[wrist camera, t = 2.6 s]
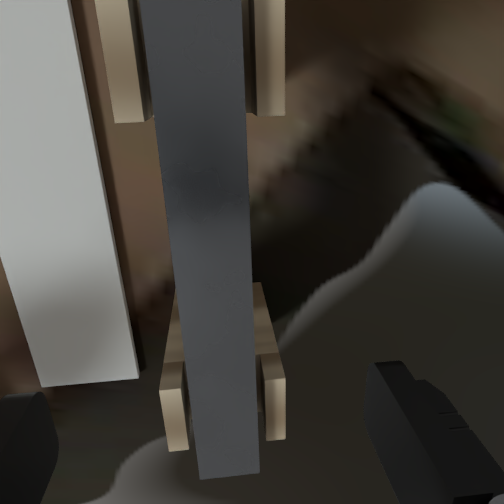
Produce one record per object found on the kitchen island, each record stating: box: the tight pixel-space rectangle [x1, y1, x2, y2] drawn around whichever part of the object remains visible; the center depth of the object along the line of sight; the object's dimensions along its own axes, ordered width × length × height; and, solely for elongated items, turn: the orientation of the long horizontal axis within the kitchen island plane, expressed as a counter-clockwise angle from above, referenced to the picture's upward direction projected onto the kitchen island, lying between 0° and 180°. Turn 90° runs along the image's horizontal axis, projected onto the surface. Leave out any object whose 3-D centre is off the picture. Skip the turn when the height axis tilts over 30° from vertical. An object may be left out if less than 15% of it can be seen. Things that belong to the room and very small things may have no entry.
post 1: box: [95, 0, 285, 123], centre depth 18 cm, size 4×6×10 cm, turn 92°
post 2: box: [159, 282, 285, 451], centre depth 24 cm, size 4×6×10 cm, turn 92°
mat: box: [0, 0, 140, 387], centre depth 24 cm, size 26×7×1 cm, turn 2°
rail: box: [139, 0, 260, 480], centre depth 17 cm, size 22×3×3 cm, turn 2°
